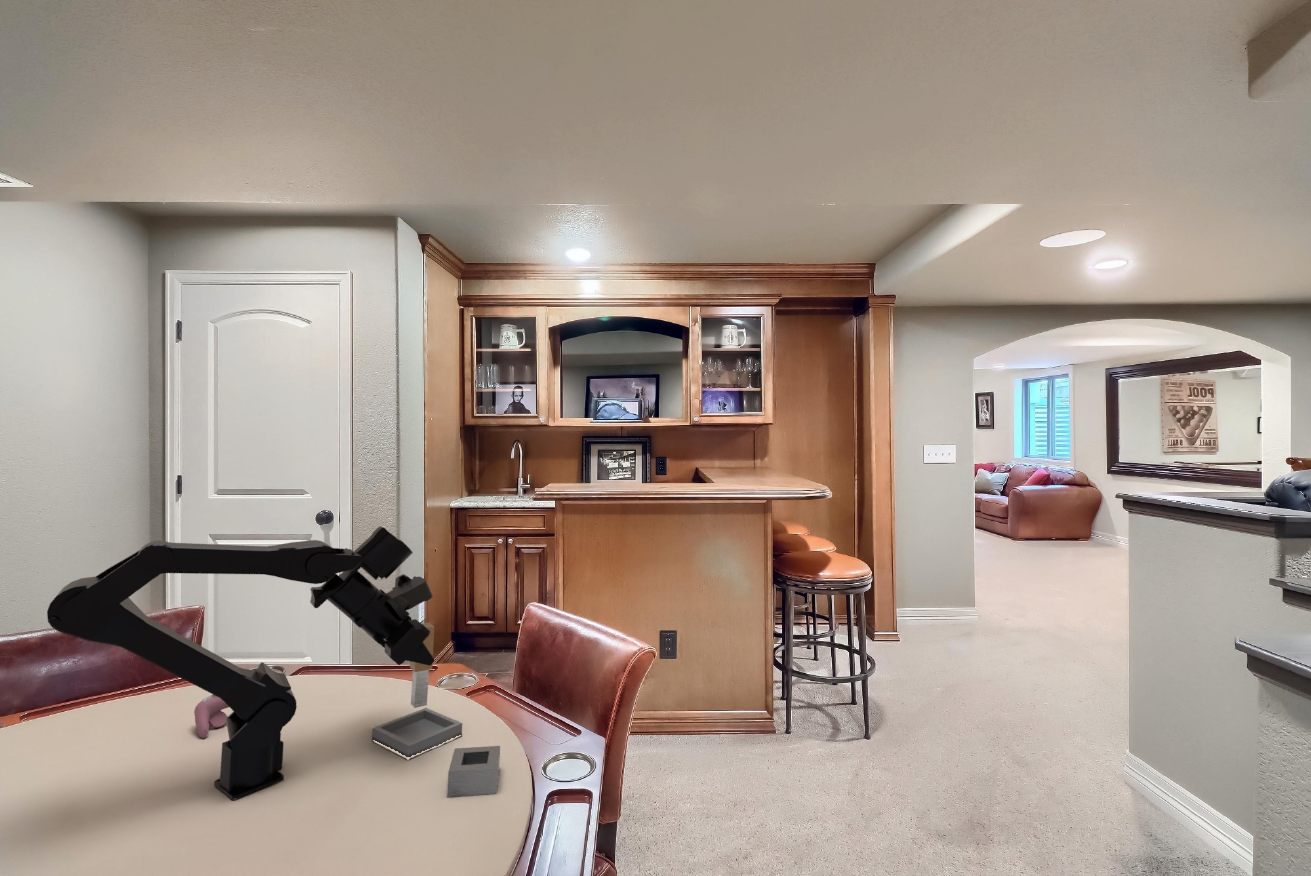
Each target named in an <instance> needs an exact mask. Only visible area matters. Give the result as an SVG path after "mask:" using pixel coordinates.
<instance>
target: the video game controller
mask: <svg viewBox="0 0 1311 876" xmlns="http://www.w3.org/2000/svg"><path fill="white" fill-rule="evenodd" d="M227 708H230V707H229V706H228V705H227V704H226V703H225V702H224V701H223V700H222V699H221V698H219V697H217V696H215V695H213V694H211V695H209V696H207V697H205V698H203V699H202V700H201V701H199V702H198V703H197V704H196V706H195V708H194V712H193V713H194V721H195V727H196V731H197V734H198V735H199V737H200V738H201V739H205V738H207V737H208V734H209V730H210V727H211V728H213V729H218V728H221V727H222V726H224V725H225V724H227V723H226V718H227V717H228V715H227V714H226V712H224V711H222V710H224V709H227Z"/></svg>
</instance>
